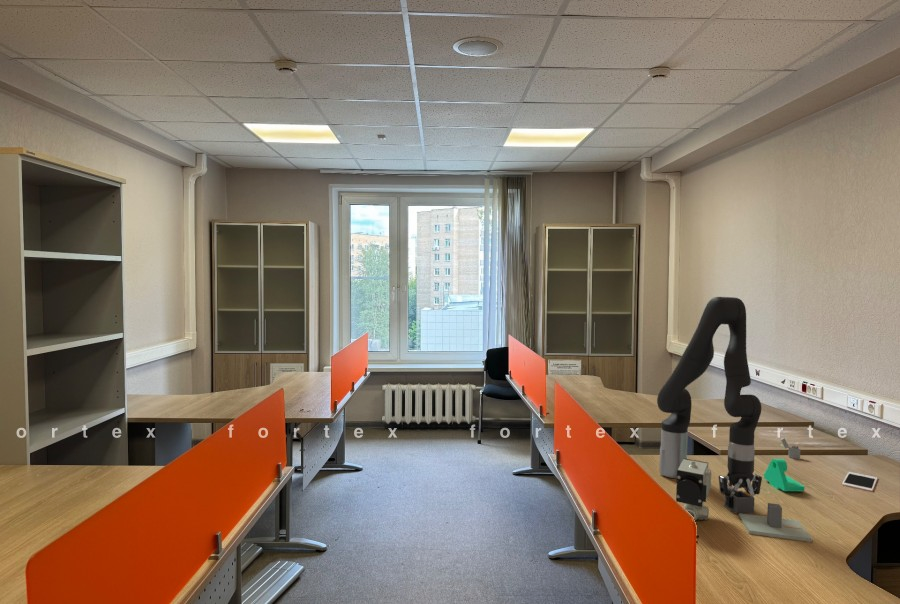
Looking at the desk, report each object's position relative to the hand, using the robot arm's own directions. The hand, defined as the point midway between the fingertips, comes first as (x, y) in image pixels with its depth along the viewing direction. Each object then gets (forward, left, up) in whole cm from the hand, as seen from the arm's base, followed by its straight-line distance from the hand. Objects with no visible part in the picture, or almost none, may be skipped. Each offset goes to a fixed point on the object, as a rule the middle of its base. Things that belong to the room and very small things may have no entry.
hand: (739, 507), depth 172 cm
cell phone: (+49, +42, -1) cm, 64 cm away
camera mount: (+20, +27, -1) cm, 34 cm away
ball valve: (-15, -11, -1) cm, 19 cm away
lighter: (+33, +65, -1) cm, 73 cm away
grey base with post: (+7, -11, -1) cm, 13 cm away
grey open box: (0, 0, -1) cm, 1 cm away
